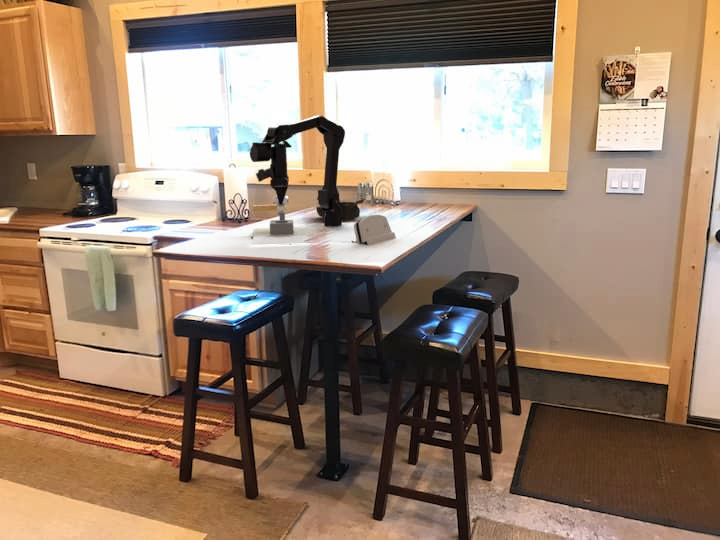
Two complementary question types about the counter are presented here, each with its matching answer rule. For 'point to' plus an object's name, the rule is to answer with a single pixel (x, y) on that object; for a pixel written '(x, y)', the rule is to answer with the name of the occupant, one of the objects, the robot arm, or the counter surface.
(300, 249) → the counter surface
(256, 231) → the block
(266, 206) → the bar
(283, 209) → the pin
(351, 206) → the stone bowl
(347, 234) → the counter surface
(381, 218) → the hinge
